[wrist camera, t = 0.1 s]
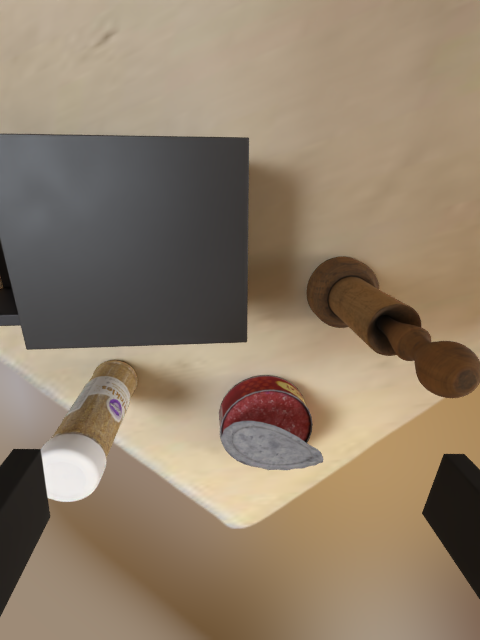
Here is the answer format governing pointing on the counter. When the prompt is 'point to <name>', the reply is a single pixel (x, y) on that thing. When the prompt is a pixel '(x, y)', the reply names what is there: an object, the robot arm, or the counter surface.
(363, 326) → the mortar and pestle
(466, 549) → the robot arm
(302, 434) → the canned food
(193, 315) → the small drawer cabinet
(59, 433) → the sprinkles bottle
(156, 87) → the counter surface
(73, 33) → the counter surface
